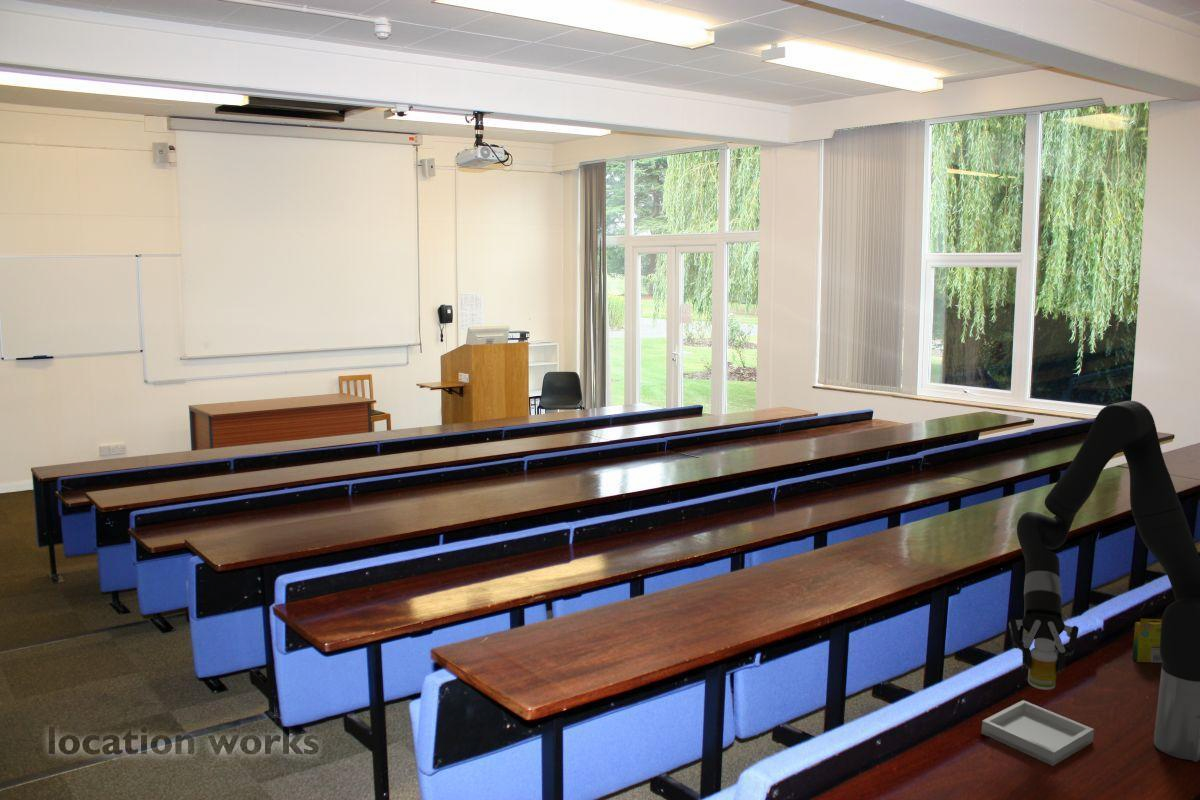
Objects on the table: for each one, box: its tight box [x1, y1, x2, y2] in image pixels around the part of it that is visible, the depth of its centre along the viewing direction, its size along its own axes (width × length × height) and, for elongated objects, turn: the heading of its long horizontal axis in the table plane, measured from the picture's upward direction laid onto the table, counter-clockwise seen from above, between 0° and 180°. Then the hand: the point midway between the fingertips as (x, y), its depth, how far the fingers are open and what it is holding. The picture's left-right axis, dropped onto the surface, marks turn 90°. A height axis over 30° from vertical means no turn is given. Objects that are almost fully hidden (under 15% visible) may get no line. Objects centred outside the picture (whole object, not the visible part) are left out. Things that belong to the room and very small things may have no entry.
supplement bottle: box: [1027, 638, 1058, 690], centre depth 202 cm, size 5×5×10 cm
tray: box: [980, 699, 1095, 767], centre depth 204 cm, size 16×16×3 cm
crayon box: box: [1131, 618, 1162, 664], centre depth 241 cm, size 7×3×12 cm, turn 84°
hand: (1043, 669), depth 201 cm, fingers closed on supplement bottle, 5 cm apart
